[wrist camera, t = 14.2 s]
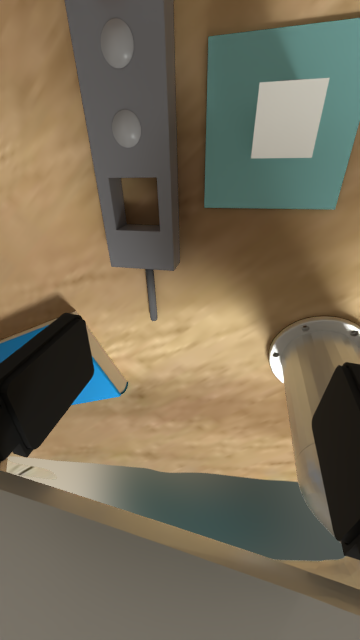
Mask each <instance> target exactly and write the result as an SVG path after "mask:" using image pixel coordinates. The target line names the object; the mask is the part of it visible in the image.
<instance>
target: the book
mask: <svg viewBox="0 0 360 640" xmlns="http://www.w3.org/2000/svg"><path fill="white" fill-rule="evenodd" d="M70 314H76V315H79V314H78V313H77V311H74V312H72V313H70ZM56 319H57V318H56ZM56 319H54V320H51V321H49V322H46V323H43V324H41V325H38V326H36V327H33V328H31V329H28V330H26V331H23V332H21V333H18V334H15V335H13V336H10V337H8V338H5V339H3V340H0V363H1V362H2V361H4V360H5V359H6V358H7V357H9V356H10V355H11V354H13V353H14V352H15V351H16V350H18V349H19V348H20V347H22V346H23V345H24V344H25V343H27V342H28V341H29V340H31V339H32V338H33V337H34V336H36V335H37V334H38V333H40V332H41V331H42V330H43V329H45V328H46V327H47V326H48V325H50V324H51V323H52V322H54V321H55V320H56ZM86 328H87V333H88V338H89V344H90V349H91V354H92V359H93V365H94V375H93V377H92V379H91V380H90V381H89V382H88V384H87V385H86V386H85V388H84V389H83V390H82V392H81V393H80V394H79V395H78V397H77V398H76V399H75V401H74V402H73V403H72V405H74V404H80V403H86V402H91V401H97V400H103V399H108V398H114V397H120V395H121V394H123V393H124V392H125V391H126V389H127V386H128V382H127V380H126V379H125V378H124V376H123V375H122V374H121V372H120V371H119V369H118V368H117V367H116V365H115V364H114V362H113V361H112V360H111V358H110V357H109V356H108V354H107V353H106V351H105V350H104V349H103V347H102V346H101V344H100V343H99V342H98V340H97V339H96V338H95V336H94V335H93V333H92V332H91V331H90V329H89V328H88V327H87V325H86Z"/></svg>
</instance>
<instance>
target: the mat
mask: <svg viewBox="0 0 360 640" xmlns="http://www.w3.org/2000/svg"><path fill="white" fill-rule="evenodd" d="M318 78H330V79H329V83H328V88H327V92H326V97H325V101H324V106H323V110H322V115H321V119H320V123H319V128H318V132H317V137H316V141H315V146H314V150H313V155H312V158H251V153H252V144H253V136H254V127H255V118H256V110H257V101H258V93H259V84H260V82H274V81H282V80H297V79H318ZM359 122H360V18H354V19H346V20H338V21H330V22H322V23H314V24H306V25H297V26H289V27H281V28H273V29H265V30H257V31H249V32H241V33H233V34H225V35H217V36H209V37H208V75H207V116H206V156H205V197H204V208H266V209H335V207H336V204H337V200H338V197H339V193H340V190H341V186H342V182H343V179H344V175H345V172H346V168H347V165H348V161H349V157H350V154H351V150H352V147H353V143H354V139H355V136H356V132H357V129H358V125H359Z"/></svg>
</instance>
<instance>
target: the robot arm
mask: <svg viewBox="0 0 360 640" xmlns="http://www.w3.org/2000/svg"><path fill="white" fill-rule="evenodd" d="M269 362H270V367H271V369H272V372H273V373H274V375H275V376H276V377H277V378H278V379H279V380H280V381H281V382H282V383H284V386H285V394H286V401H287V408H288V415H289V422H290V429H291V436H292V444H293V451H294V458H295V465H296V471H297V478H298V483H299V487H300V490H301V493H302V496H303V498H304V500H305V502H306V504H307V505H308V507H309V508H310V510H311V511H312V513H313V514H314V515H315V517H316V518H317V519H318V520H319V521H320V522H321V523H322V524H323V526H324V527H325V528H326V529H327V530H328V531H329V532H330V533H331V534H332V535H333V536H334V537H335V538H336V539H337V540H338V541H339V542H340V543H341V544H342V548H343V552H344V556H345V557H344V558H342V559H339V560H323V561H299V560H273V559H270V558H267V557H264V556H261V555H258V554H255V553H252V552H249V551H246V550H243V549H240V548H237V547H234V546H231V545H228V544H225V543H222V542H219V541H216V540H213V539H210V538H207V537H204V536H201V535H198V534H195V533H192V532H189V531H186V530H183V529H180V528H177V527H174V526H171V525H168V524H165V523H162V522H158V521H156V520H152V519H150V518H146V517H143V516H140V515H137V514H134V513H131V512H128V511H125V510H122V509H119V508H116V507H113V506H110V505H107V504H103V503H100V502H97V501H94V500H91V499H88V498H85V497H82V496H79V495H76V494H73V493H70V492H66V491H63V490H60V489H57V488H54V487H51V486H48V485H45V484H42V483H38V482H35V481H32V480H29V479H26V478H23V477H20V476H17V475H14V474H10V473H7V472H6V468H7V457H8V456H9V455H10V453H11V452H12V451H13V453H14V454H17V455H20V456H23V457H28V456H29V454H30V453H31V452H32V451H33V449H37V448H38V447H39V446H40V445H41V444H42V442H43V441H44V440H45V439H46V437H47V436H48V435H49V433H50V432H51V431H52V429H53V428H54V427H55V425H56V424H57V423H58V422H59V420H60V419H61V418H62V416H63V415H64V414H65V412H66V411H67V410H68V409H69V407H70V406H71V405H72V403H73V402H74V401H75V399H76V398H77V397H78V395H79V394H80V393H81V392H82V390H83V389H84V388H85V386H86V385H87V384H88V382H89V381H90V380H91V379H92V377H93V375H94V365H93V359H92V354H91V349H90V344H89V338H88V333H87V328H86V323H85V321H84V320H83V319H82V317H81V316H80V315H76V314H70V313H64V314H63V315H61V316H60V317H59V318H57V319H56V320H55V321H54V322H52V323H51V324H50V325H48V326H47V327H46V328H45V329H43V330H42V331H41V332H40V333H38V334H37V335H36V336H34V337H33V338H32V339H31V340H29V341H28V342H27V343H25V344H24V345H23V346H22V347H20V348H19V349H18V350H16V351H15V352H14V353H13V354H11V355H10V356H9V357H7V358H6V359H5V360H4V361H2V362H1V363H0V640H360V326H358V325H357V324H355V323H353V322H351V321H349V320H346V319H342V318H338V317H330V316H320V317H312V318H307V319H303V320H300V321H297V322H295V323H293V324H291V325H289V326H288V327H286V328H285V329H283V330H282V331H281V332H280V333H279V334H278V335H277V336H276V337H275V338H274V340H273V342H272V344H271V346H270V350H269Z"/></svg>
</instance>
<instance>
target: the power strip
mask: <svg viewBox="0 0 360 640" xmlns="http://www.w3.org/2000/svg"><path fill="white" fill-rule="evenodd" d="M65 6H66V11H67V17H68V23H69V28H70V34H71V40H72V45H73V51H74V57H75V62H76V68H77V74H78V79H79V85H80V91H81V97H82V102H83V108H84V114H85V119H86V125H87V131H88V136H89V142H90V148H91V153H92V159H93V165H94V170H95V176H96V182H97V187H98V193H99V199H100V204H101V210H102V216H103V222H104V227H105V233H106V239H107V244H108V250H109V256H110V261H111V267H125V268H140V269H146V278H147V288H148V298H149V308H150V317H151V320H152V321H156V320H157V307H156V295H155V283H154V271H153V269H155V270H170V271H174V270H175V269H176V267H177V266H178V264H179V263H180V243H179V203H178V164H177V124H176V84H175V45H174V5H173V0H65ZM148 177H157V189H158V205H159V221H160V225H132V224H127V222H126V214H125V207H124V199H123V191H122V184H121V178H148Z"/></svg>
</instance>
